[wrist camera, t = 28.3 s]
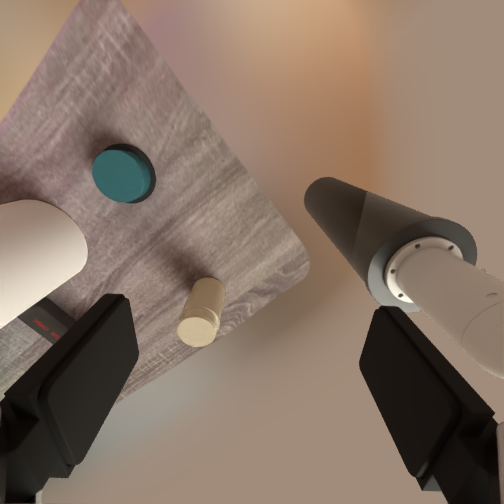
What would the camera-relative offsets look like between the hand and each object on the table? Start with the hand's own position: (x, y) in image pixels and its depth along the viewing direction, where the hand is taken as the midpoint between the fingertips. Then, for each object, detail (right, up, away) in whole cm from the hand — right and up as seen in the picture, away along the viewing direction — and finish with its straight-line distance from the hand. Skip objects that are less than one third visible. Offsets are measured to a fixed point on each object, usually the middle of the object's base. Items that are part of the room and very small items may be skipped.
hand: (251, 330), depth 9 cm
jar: (-7, -4, +33) cm, 34 cm away
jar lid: (-18, +13, +23) cm, 32 cm away
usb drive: (-37, -9, +35) cm, 52 cm away
